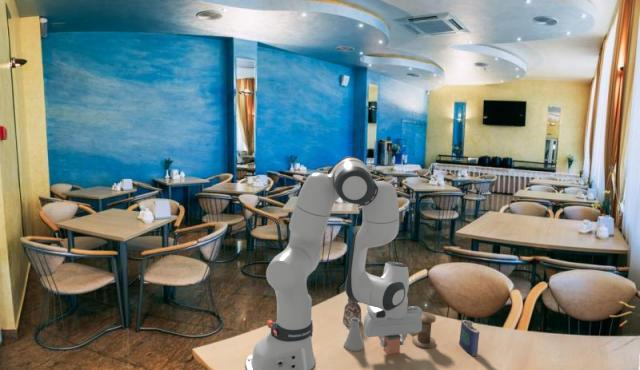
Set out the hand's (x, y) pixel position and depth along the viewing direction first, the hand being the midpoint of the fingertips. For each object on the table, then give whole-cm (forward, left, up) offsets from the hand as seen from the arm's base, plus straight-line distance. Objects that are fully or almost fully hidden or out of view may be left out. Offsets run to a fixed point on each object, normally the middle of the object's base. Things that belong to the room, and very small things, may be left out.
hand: (391, 345), depth 143 cm
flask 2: (+26, -8, -2) cm, 27 cm away
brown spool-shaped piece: (+14, +1, -2) cm, 14 cm away
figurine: (-4, +23, -2) cm, 23 cm away
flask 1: (-11, +7, -2) cm, 13 cm away
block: (0, 0, -2) cm, 2 cm away
